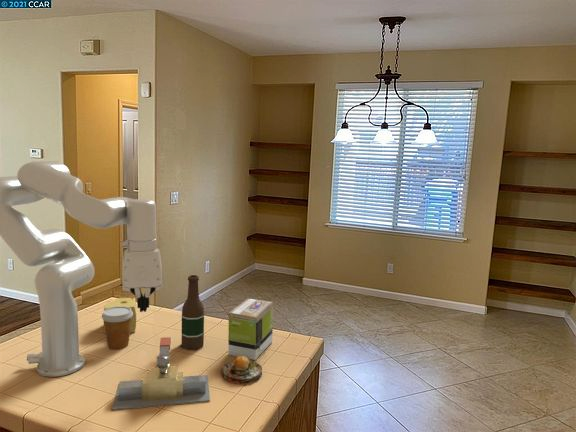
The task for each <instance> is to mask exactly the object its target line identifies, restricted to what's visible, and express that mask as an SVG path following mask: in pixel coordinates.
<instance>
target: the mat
mask: <svg viewBox="0 0 576 432" xmlns="http://www.w3.org/2000/svg"><path fill="white" fill-rule="evenodd" d="M204 375H205V378H206V393H202V394H190V395H183V397H177V399H168V400H156V401H149V400H142V399H132V400H120V401H119V397H118V390H117V391H116V395H115V398H114V402H113V405H112V409H111V410H112V411H118V410H130V409H140V408H153V407H163V406H175V405H184V404H185V405H186V404H198V403H207V402H210V401H211V397H210V396H211V395H210V386H209V375H208V374H204ZM118 388H119V386H118V387H117V389H118Z"/></svg>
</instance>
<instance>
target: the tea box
mask: <svg viewBox="0 0 576 432" xmlns="http://www.w3.org/2000/svg"><path fill="white" fill-rule="evenodd" d="M273 322H274V302H273V301H269V300H262V299H261V300H259V299H253V298H249V297H248V298H246V299H245V300H244V301H242V302H241V303H240V304H239V305H237V306H236V307H234V308H233V309H232V310H231V311H229V312H228V328H227V329H228V341H227V342H228V347H227V348H228V350H227V351H228V355H229V356H232V357H233V356H235V357H236V358H237V357H238V356H241V355H242V356H245V357H247V358H248V360H251V361H256V360H257V359H258V358H259V357H260V356H261V354H262V353H264V351H265V350H266V349H267V348H268V347H269V346H270V345H271V344H272V343H273V341H274V340H273V339H274V338H273V337H274V335H273V334H274V332H273V329H274V323H273Z"/></svg>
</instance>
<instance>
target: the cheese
mask: <svg viewBox="0 0 576 432" xmlns="http://www.w3.org/2000/svg"><path fill="white" fill-rule="evenodd" d="M136 301H137V300H136V298H135V297H121V298H116V299H115V300H112V301H108V302H107V301H106V303H105V304H104V306H103V311H104V310H106V309H108V308H111V307H117V306H125V307H129V308H131V310H132V312H133V315H132V317H131V326H130V334H132V333H136V328H137V309H136V308H137V307H136V306H137V302H136ZM102 320H103V319H102ZM102 322H104V320H103V321H102ZM103 331H104V335H105V336H106V332H105V326H104V325H103Z"/></svg>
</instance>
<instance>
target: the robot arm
mask: <svg viewBox="0 0 576 432" xmlns="http://www.w3.org/2000/svg"><path fill="white" fill-rule="evenodd" d="M83 191H84V184H83V181H82V180H81V179H80V178H79V177H76V176H74V175H72V174H71V171H70V169H69V168H68V167H67V166H66V165H65V164H63V162H60V161H53V160H51V161H50V160H48V161H47V160H46V161H30V162H26V163H24V164H23V165H22V166H20V167H19V169H18V171H17V174H16V175H12V176H0V237H1V239H2V240H3V241H4V243H6V245H7V246H8V247H9V248H10V249H11V251H12V252H13V253H14V254H15V255H16V257H17V258H18V259H19V260H20V262H22V263H23V264H24V265H26V266H28V267H38V266H42V265H44V264H45V265H44V266H43V267H41V268H40V269H39V270H38V271H37V273H36V275H35V278H34V286H35V290H36V293H37V296H38V304H39V311H40V312H39V313H40V330H41V332H40V333H41V335H40V336H41V351H40V352H39V353H27V355H26V361H27V362H28V364H30V365H31V364H37V366H36V372H37V373H38V374H39V375H40V376H42V377H48V378H49V377H51V378H53V377H61V376H67V375H70V374H73V373H75V372H77V371H79V370H81V369H82V368H83V367H84V366H85V363H86V358H85V356H83V355H82V354H80V343H79V341H80V340H79V338H80V337H79V315H78V313H79V312H78V305H77V302H76V300H75V297H74V296H73V293H72V291H75V290H77V289H79V288H81V287H83V286H86V285H87V284H89V283H90V282H91V281H92V280H93V278H94V277H95V271H96V270H95V266H94V264H93V262H92V260H91V259H90V258H89V256H88V255H87V254H86V252H85V251H84V250H83V249H82V248H81V247H80V245H79V244H78V243H77V242H76V241H75V240H74V238H73V237H72V236H71V235H70V234H69V233H67V232H66V231H64V230H61V229H58V228H51V229H45V230H40V229H39V228H38V227H36V226H35V224H34V223H33V222H32V221H31V219H30V218H29V217H28V216H26V215H25V214H24V213H22V212H21V211H19V210H17V209H15V208H13V207H15V206H20V205H28V204H32V203H36V202H38V201H41V200H43V199H45V198H46V200H47V199H48V200H49V201H52V202H54V203H56V204H59V205H61V206H62V207H63V209H64V211H65V212H66V213H67V214H68V215H69V216H70V217H71V218H72V219H74V220H76V221H78V222H80V223H83V224H84V225H87V226H90V227H92V228H95V229H102V230H104V229H108V228H112V227H115V226H121V225H125V224H126V237H127V238H126V240H124V241H121V247H124V248H126V249H125V251H124V253H123V257H122V258H123V259H122V272H121V273H122V276H121V277H122V280H121V283H122V286H121V290H122V291H124V292H130V293H131V294H133V295H134V296H135V297H136V298H135V299H137V300H136V301H137V302H136V306H137V307H136V308H137V309H139V312H140V313H146V312H147V310H148V309H147V308H150V296H152V294H154V292H157V291H159V290H163V289H164V284H163V283H164V282H163V264H162V255H161V251H160V249H159V248H158V244H157V243H158V242H157V241H158V237H157V204H156V202H155V201H154V200H152V199H145V198H142V199H141V198H140V199H137V198H136V199H135V198H130V197H126V196H117V197H110V198H103V199H100V198H99V199H98V198H97V197H93V196H92V195H89V194H87V193H85V192H83ZM46 264H47V265H46ZM142 289H145V292H144V294H143V292H142Z"/></svg>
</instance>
